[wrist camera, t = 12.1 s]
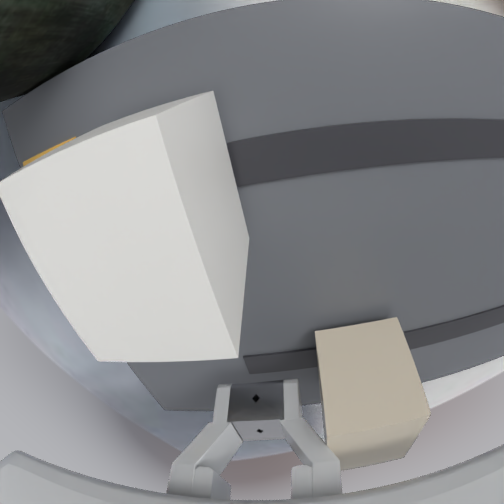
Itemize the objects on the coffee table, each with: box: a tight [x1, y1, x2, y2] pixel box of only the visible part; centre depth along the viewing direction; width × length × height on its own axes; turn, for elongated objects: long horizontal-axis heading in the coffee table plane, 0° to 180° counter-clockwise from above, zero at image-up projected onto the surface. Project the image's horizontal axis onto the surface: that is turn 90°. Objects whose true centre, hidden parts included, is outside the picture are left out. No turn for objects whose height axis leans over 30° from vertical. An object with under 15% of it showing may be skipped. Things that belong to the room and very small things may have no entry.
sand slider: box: [315, 317, 431, 471], centre depth 10 cm, size 3×4×4 cm
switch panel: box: [2, 0, 504, 411], centre depth 10 cm, size 24×16×2 cm, turn 101°
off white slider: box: [0, 91, 249, 362], centre depth 6 cm, size 3×4×4 cm
